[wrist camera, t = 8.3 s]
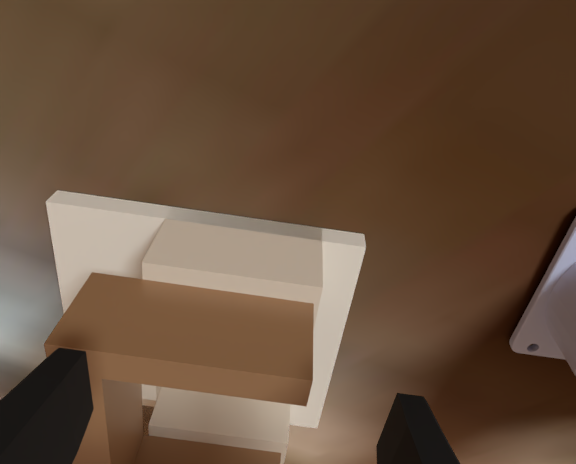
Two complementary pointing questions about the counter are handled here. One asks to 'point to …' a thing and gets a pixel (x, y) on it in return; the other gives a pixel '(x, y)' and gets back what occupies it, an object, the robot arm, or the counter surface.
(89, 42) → the counter surface
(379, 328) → the counter surface
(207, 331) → the tan c-shaped bracket
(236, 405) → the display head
